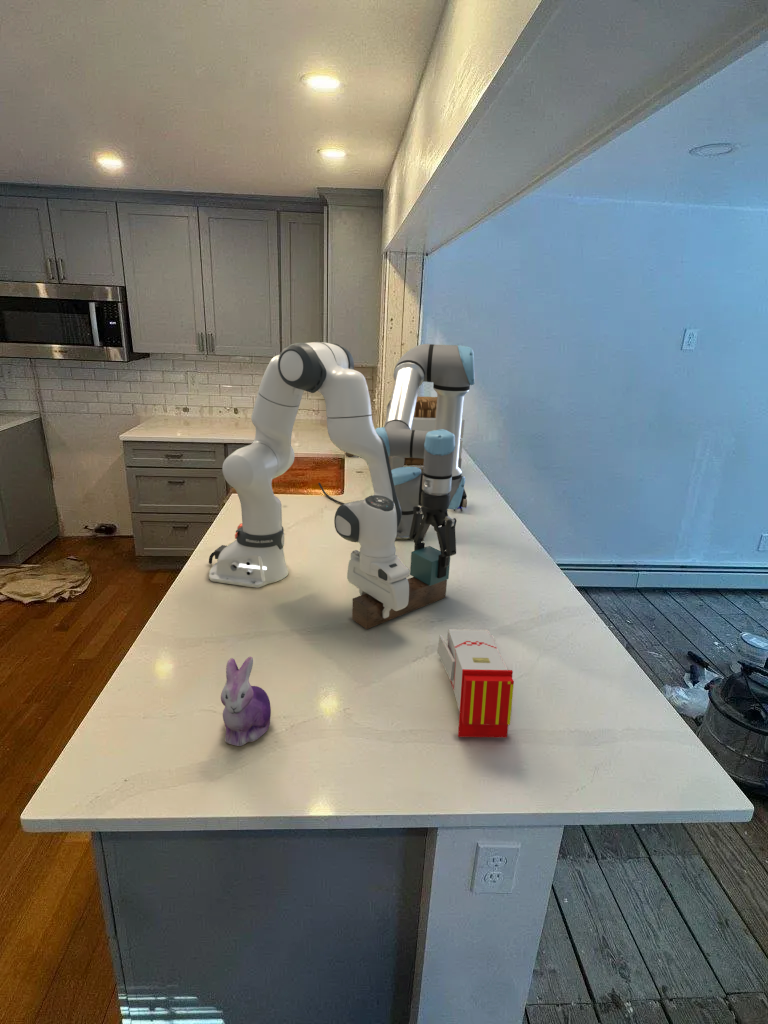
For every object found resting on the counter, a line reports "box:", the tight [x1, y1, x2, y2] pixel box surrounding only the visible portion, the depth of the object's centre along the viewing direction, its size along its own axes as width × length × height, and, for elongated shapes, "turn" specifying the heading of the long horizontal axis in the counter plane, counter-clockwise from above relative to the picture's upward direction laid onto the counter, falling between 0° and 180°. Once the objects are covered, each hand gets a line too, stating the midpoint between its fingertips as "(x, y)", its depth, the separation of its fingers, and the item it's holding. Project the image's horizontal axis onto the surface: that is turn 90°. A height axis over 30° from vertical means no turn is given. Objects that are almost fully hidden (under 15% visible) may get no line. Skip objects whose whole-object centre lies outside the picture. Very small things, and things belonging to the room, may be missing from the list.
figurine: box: [220, 656, 272, 747], centre depth 102 cm, size 9×10×15 cm
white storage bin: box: [385, 396, 465, 471], centre depth 268 cm, size 34×33×41 cm
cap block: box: [409, 545, 451, 586], centre depth 154 cm, size 7×8×7 cm
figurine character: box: [452, 489, 468, 512], centre depth 228 cm, size 7×8×15 cm
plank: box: [351, 576, 448, 630], centre depth 150 cm, size 28×6×6 cm, turn 130°
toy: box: [437, 628, 515, 738], centre depth 117 cm, size 12×13×30 cm
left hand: (375, 610), depth 144 cm, fingers closed on plank, 6 cm apart
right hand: (429, 570), depth 154 cm, fingers closed on cap block, 8 cm apart
